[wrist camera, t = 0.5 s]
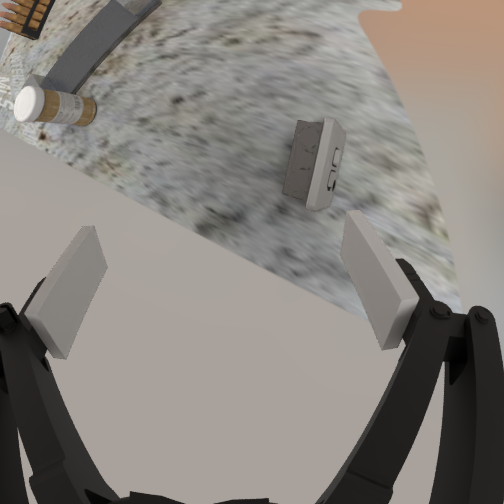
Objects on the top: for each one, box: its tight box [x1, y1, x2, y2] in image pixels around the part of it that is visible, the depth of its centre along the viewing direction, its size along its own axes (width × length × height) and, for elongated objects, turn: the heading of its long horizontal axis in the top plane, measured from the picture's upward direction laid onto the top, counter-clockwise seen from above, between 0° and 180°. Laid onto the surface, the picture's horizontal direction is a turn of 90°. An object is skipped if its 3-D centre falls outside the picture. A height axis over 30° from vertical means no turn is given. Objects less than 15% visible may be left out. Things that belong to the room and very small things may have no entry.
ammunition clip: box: [0, 0, 55, 40], centre depth 27 cm, size 11×2×12 cm, turn 163°
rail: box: [19, 0, 162, 95], centre depth 32 cm, size 25×8×5 cm, turn 130°
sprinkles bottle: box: [14, 86, 96, 126], centre depth 31 cm, size 5×5×14 cm
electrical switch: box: [282, 117, 346, 211], centre depth 32 cm, size 9×5×9 cm, turn 168°
